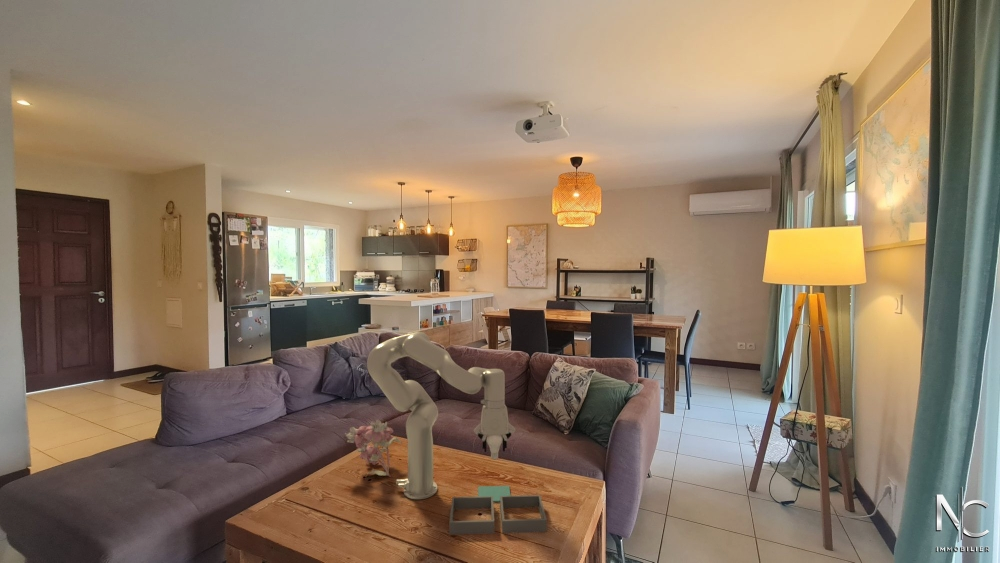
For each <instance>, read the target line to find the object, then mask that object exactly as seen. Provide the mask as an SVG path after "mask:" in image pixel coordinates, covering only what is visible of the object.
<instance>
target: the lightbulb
mask: <svg viewBox="0 0 1000 563" xmlns="http://www.w3.org/2000/svg"><path fill="white" fill-rule="evenodd" d="M486 445H487V446H488V447H489V450H490V458H491V459H492V460H497V459H499V450H500V447H501V445H503V436H502V435H487V437H486Z"/></svg>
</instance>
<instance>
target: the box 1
mask: <svg viewBox="0 0 1000 563" xmlns="http://www.w3.org/2000/svg"><path fill="white" fill-rule="evenodd" d="M451 498H452V499H451V505H450V506H451V507H450V514H449V523H448V524H449V528H448V529H449V533H448V534H449V535H450V536H451V535H453V536H454V535H456V536H457V535H482V534H483V535H485V534H487V535H489V534H495V512H494V511H495V510H494V509H495V508H494V503H493V496H480V497H478V496H452V497H451ZM474 509H475V510H478V509H479V510H480V509H483V510H484V509H490V516H491V517H490V518H491V519H488V520H487V519H484V520H482V519H481V520H454V514H455V510H474Z"/></svg>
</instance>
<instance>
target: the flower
mask: <svg viewBox="0 0 1000 563" xmlns="http://www.w3.org/2000/svg"><path fill="white" fill-rule="evenodd" d="M369 424H370V425H368V426H366V425H362V426H359V428H355V427H354V426H351V427H349V431H347V433H346V432H344V435H345V437H347V443H352V444H354V443H355V446H356V447H357V448H356V451H357V453H360V455H359V458H360V460H365V462H366V463H367V464H372V465H377V464H380V465H381V466H382V468H383V469H384V470H385V471H382V470H378V469H373V470H371V471H369V472H367V473H366V475H365V477H367V476H368V475H370V474H375V475H378V476H385V477H386V476H388V477H391V475H390V460H391V459H390V449H389V446H391V444H392V443H394V442H396V443H401V444H403V443H402V440H400V439H399V438H397V437H394V436H393V435H391V434H393V433H394V430H393V428H391V427H389V426H388V422H387V421H385V423H383V422H382V421H380V419H375V421H374V420H371V422H370V423H369ZM368 441H370V442H371V444H372V445H368V443H367V442H368ZM379 447H381V448H379ZM383 453H386V456H387V465H386V462H385V460H384V457H383Z"/></svg>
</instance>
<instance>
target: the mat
mask: <svg viewBox="0 0 1000 563" xmlns="http://www.w3.org/2000/svg"><path fill="white" fill-rule="evenodd" d="M477 492H478V494H477V497H480V496H493V504H494V503H500V496H511V489H510V485H490V486H489V485H487V486H486V485H485V486H484V485H483V486H480V485H479V486H477Z"/></svg>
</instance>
